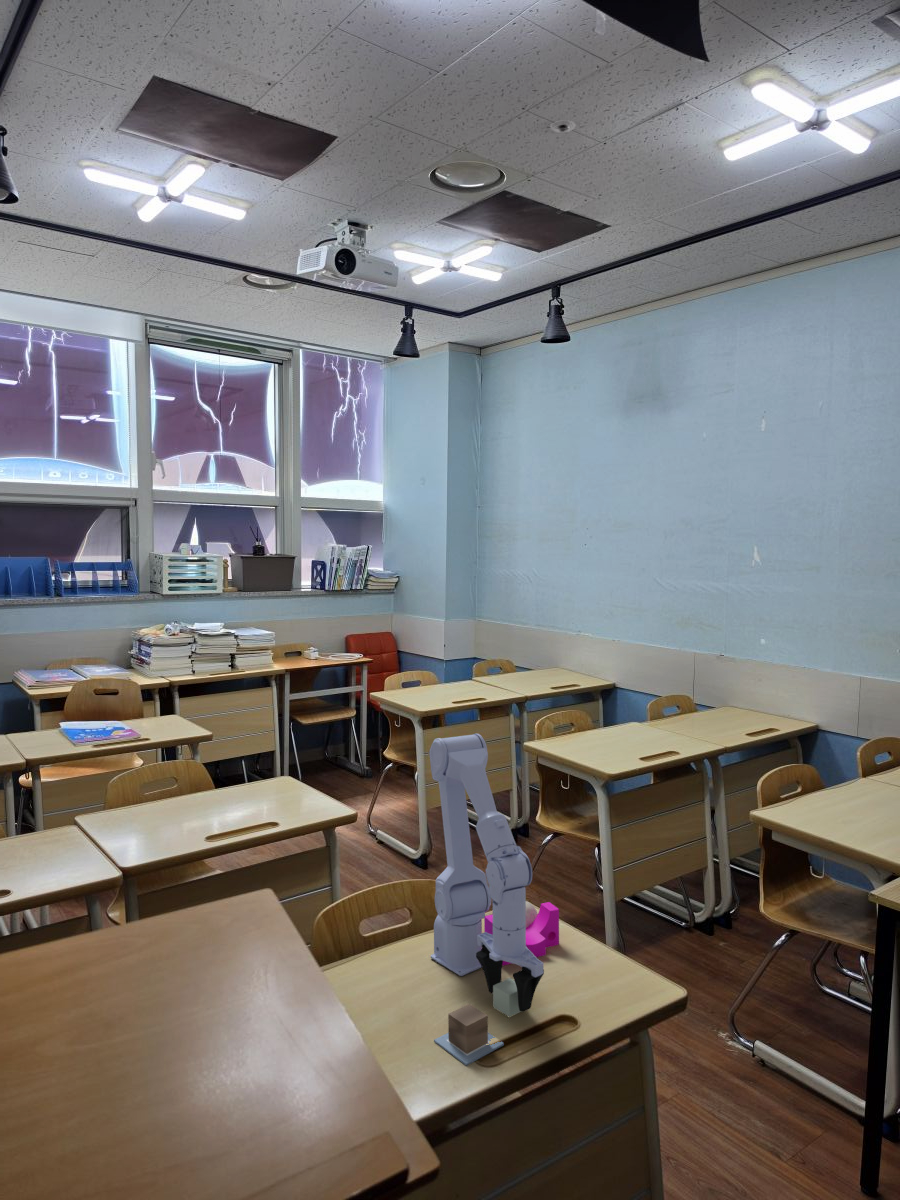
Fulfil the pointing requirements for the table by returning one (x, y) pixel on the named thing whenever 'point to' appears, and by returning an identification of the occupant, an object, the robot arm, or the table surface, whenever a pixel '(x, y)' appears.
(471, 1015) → the walnut cube
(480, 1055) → the pad
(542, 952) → the toy block
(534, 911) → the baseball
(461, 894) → the robot arm
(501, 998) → the sage cube
